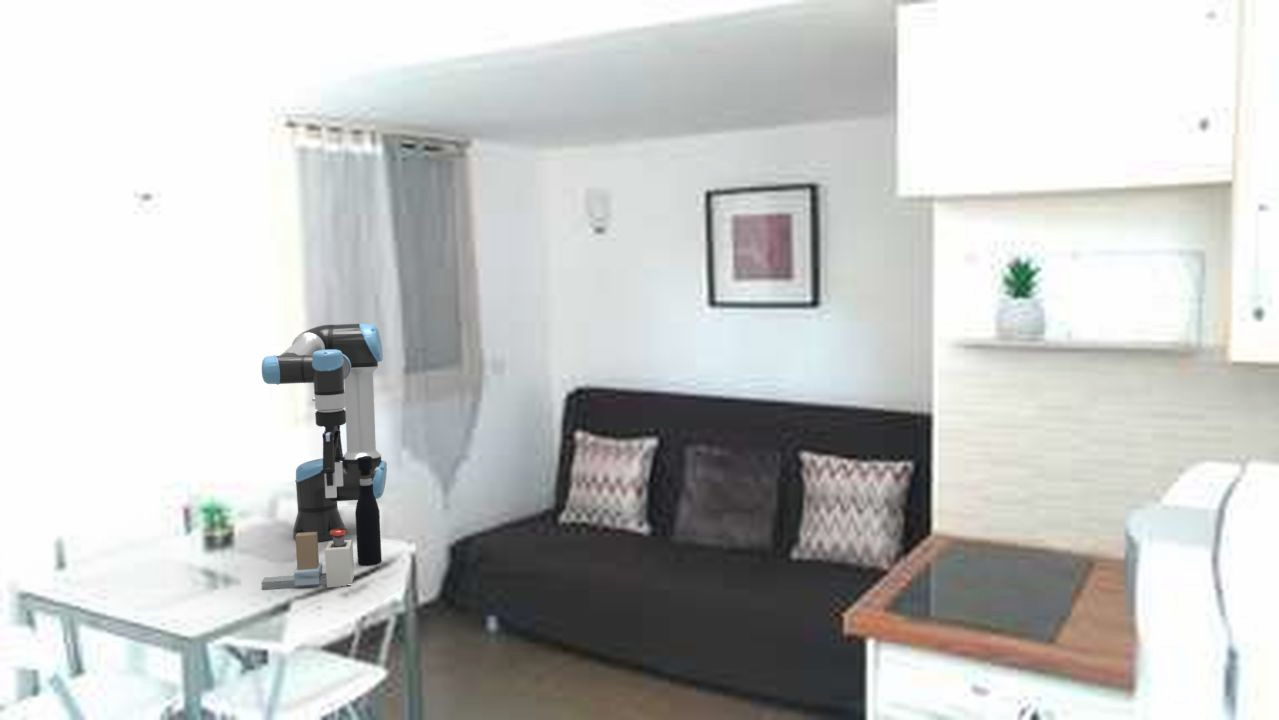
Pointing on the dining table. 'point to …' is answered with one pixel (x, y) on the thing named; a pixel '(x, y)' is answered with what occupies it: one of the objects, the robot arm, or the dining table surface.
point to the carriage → (307, 559)
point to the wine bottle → (367, 518)
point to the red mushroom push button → (338, 537)
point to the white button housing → (339, 564)
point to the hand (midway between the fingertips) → (334, 491)
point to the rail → (288, 582)
